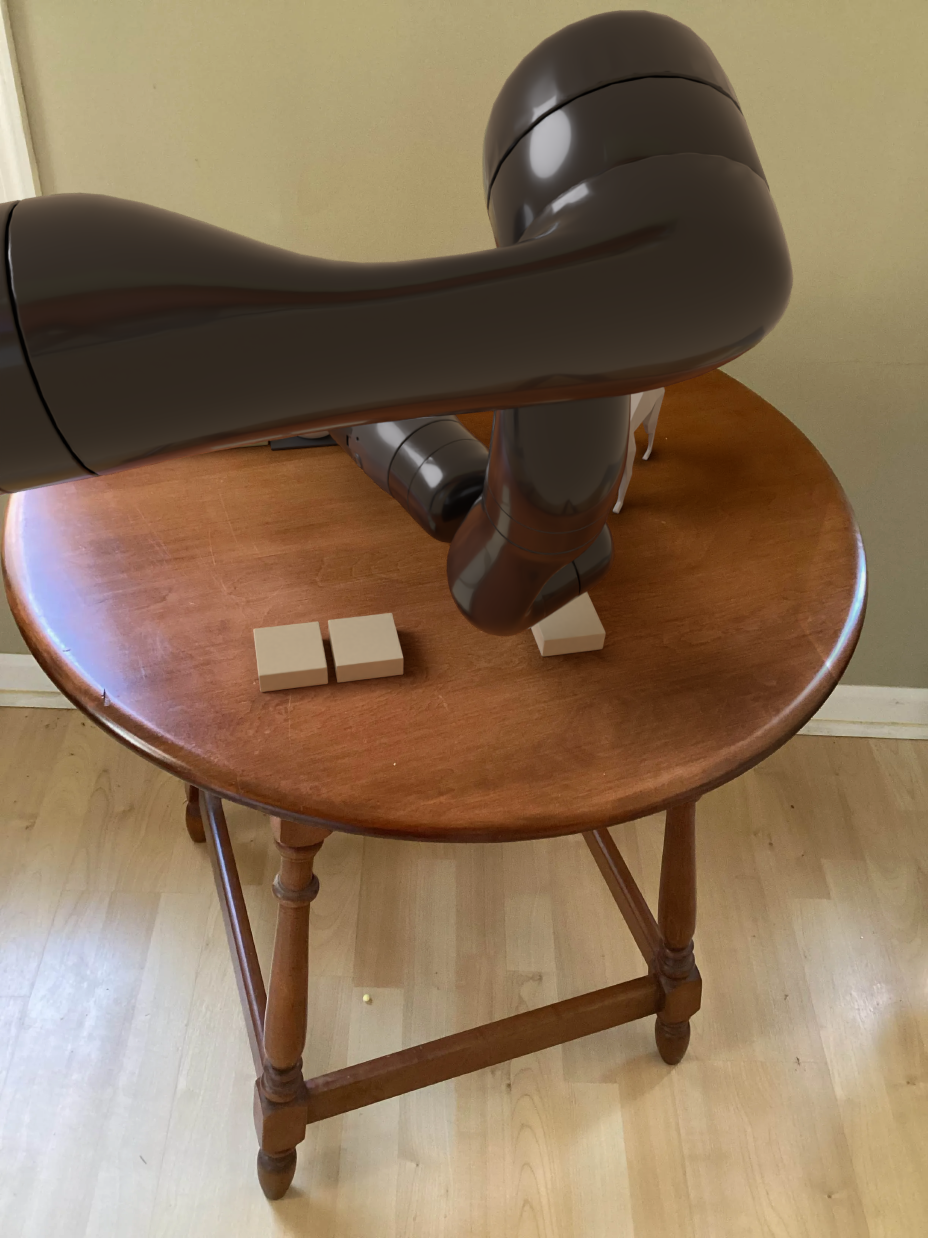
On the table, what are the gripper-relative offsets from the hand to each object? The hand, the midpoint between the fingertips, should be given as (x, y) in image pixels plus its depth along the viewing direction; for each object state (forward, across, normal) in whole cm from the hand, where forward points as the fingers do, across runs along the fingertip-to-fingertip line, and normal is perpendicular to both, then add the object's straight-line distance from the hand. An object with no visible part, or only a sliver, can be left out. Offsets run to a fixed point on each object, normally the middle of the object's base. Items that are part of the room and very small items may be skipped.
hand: (297, 333), depth 85 cm
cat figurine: (-19, -20, +8) cm, 29 cm away
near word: (-29, +5, +8) cm, 30 cm away
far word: (0, +1, +8) cm, 8 cm away
